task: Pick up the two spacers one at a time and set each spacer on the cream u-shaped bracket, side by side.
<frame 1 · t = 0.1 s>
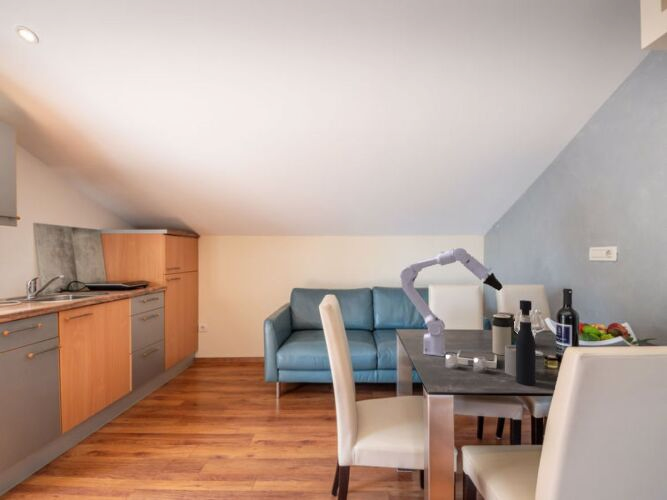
hand: (500, 288, 159), 32 cm above the table, tool tilted 50°, fingers open, 7 cm apart
cream u-shaped bracket: (476, 362, 157), on the table
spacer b: (479, 370, 146), on the table
travel mug: (501, 353, 171), on the table
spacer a: (451, 367, 150), on the table
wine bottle: (525, 383, 133), on the table
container: (506, 344, 189), on the table
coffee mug: (518, 372, 144), on the table
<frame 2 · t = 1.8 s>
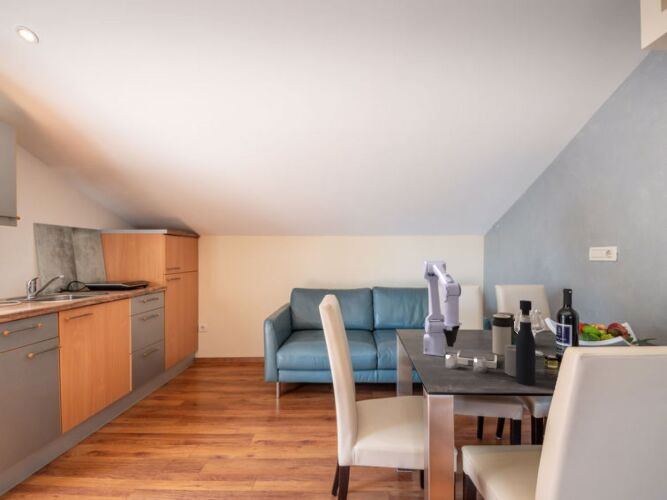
hand: (451, 344, 150), 9 cm above the table, tool pointing down, fingers open, 7 cm apart
nothing on the table moved.
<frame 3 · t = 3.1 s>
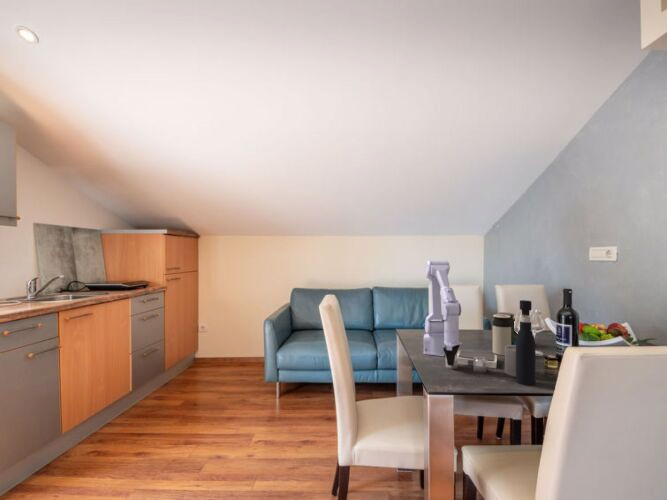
hand: (451, 363, 150), 1 cm above the table, tool pointing down, fingers closed on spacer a, 5 cm apart
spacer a: (451, 367, 150), on the table, touching gripper
everything else where it was.
when the fingers open (6 cm above the table, at t = 6.8 s): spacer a drops 2 cm, resting on cream u-shaped bracket.
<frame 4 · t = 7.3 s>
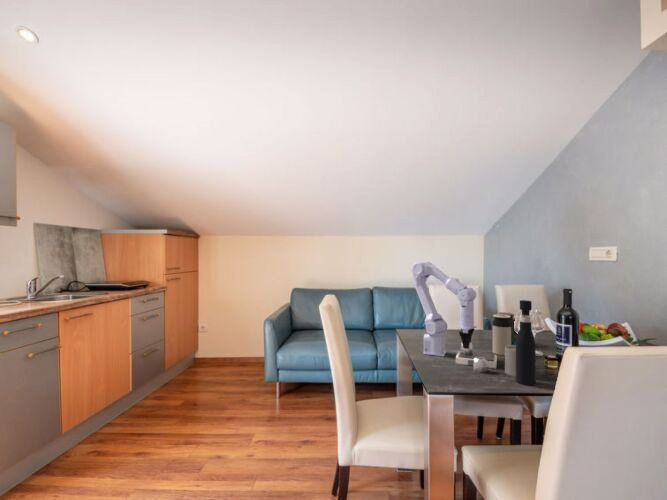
hand: (466, 346, 159), 6 cm above the table, tool pointing down, fingers open, 7 cm apart
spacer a: (466, 354, 159), point 3 cm above the table, touching cream u-shaped bracket
everything else where it was.
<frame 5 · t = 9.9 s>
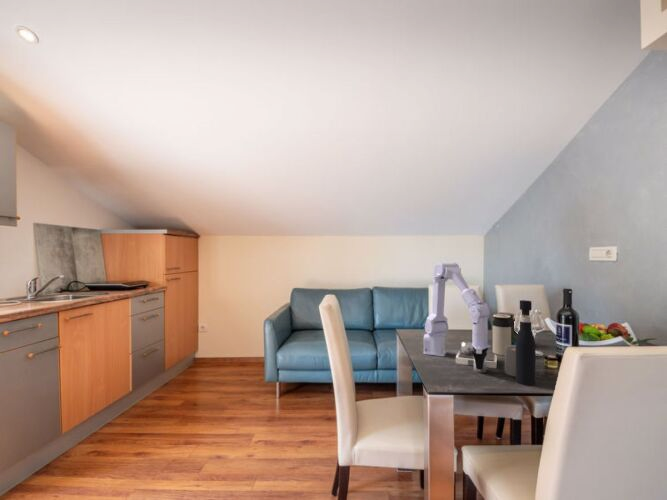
hand: (479, 367, 146), 1 cm above the table, tool pointing down, fingers closed on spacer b, 5 cm apart
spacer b: (479, 370, 146), on the table, touching gripper
everything else where it was.
when the fingers open (6 cm above the table, at t = 13.5 s): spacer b drops 2 cm, resting on cream u-shaped bracket.
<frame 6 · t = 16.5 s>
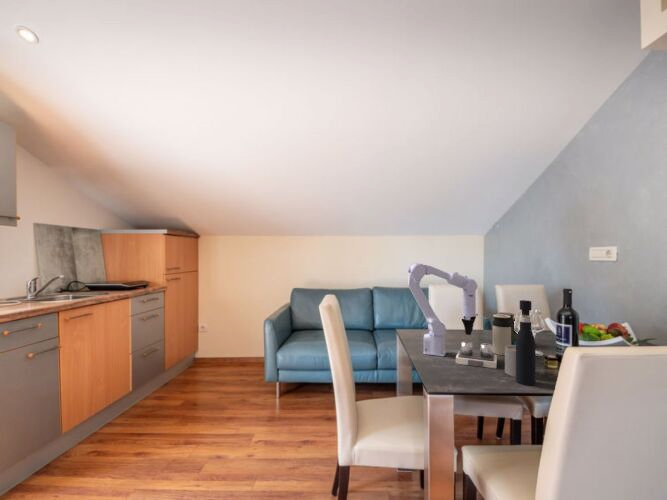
hand: (469, 333, 170), 10 cm above the table, tool pointing down, fingers open, 7 cm apart
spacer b: (486, 356, 156), point 3 cm above the table, touching cream u-shaped bracket
everything else where it was.
at the end: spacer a inside the target area on the cream u-shaped bracket (4.0 cm from its centre), point 3.0 cm above the cream u-shaped bracket's base; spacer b inside the target area on the cream u-shaped bracket (4.0 cm from its centre), point 3.0 cm above the cream u-shaped bracket's base; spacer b tilted 1° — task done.
